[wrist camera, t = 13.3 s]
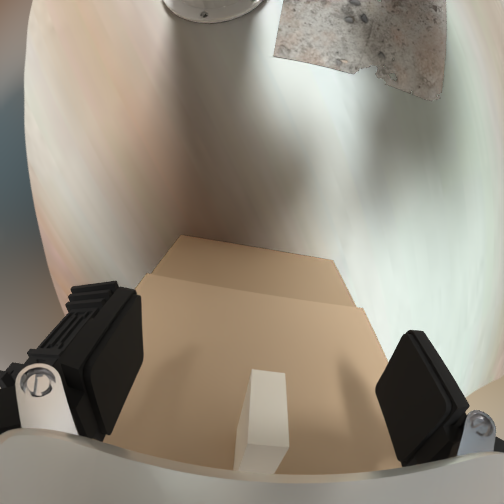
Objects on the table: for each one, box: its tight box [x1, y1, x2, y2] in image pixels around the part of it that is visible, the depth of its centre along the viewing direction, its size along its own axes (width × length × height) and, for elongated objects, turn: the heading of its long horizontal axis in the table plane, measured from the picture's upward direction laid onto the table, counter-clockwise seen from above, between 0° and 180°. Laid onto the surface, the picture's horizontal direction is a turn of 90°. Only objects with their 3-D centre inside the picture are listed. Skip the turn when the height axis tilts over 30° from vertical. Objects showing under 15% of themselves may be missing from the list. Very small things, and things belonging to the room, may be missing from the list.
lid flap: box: [92, 273, 418, 475], centre depth 15 cm, size 16×18×5 cm
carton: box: [151, 235, 356, 307], centre depth 32 cm, size 16×18×12 cm
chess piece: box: [0, 281, 119, 389], centre depth 30 cm, size 8×8×20 cm
